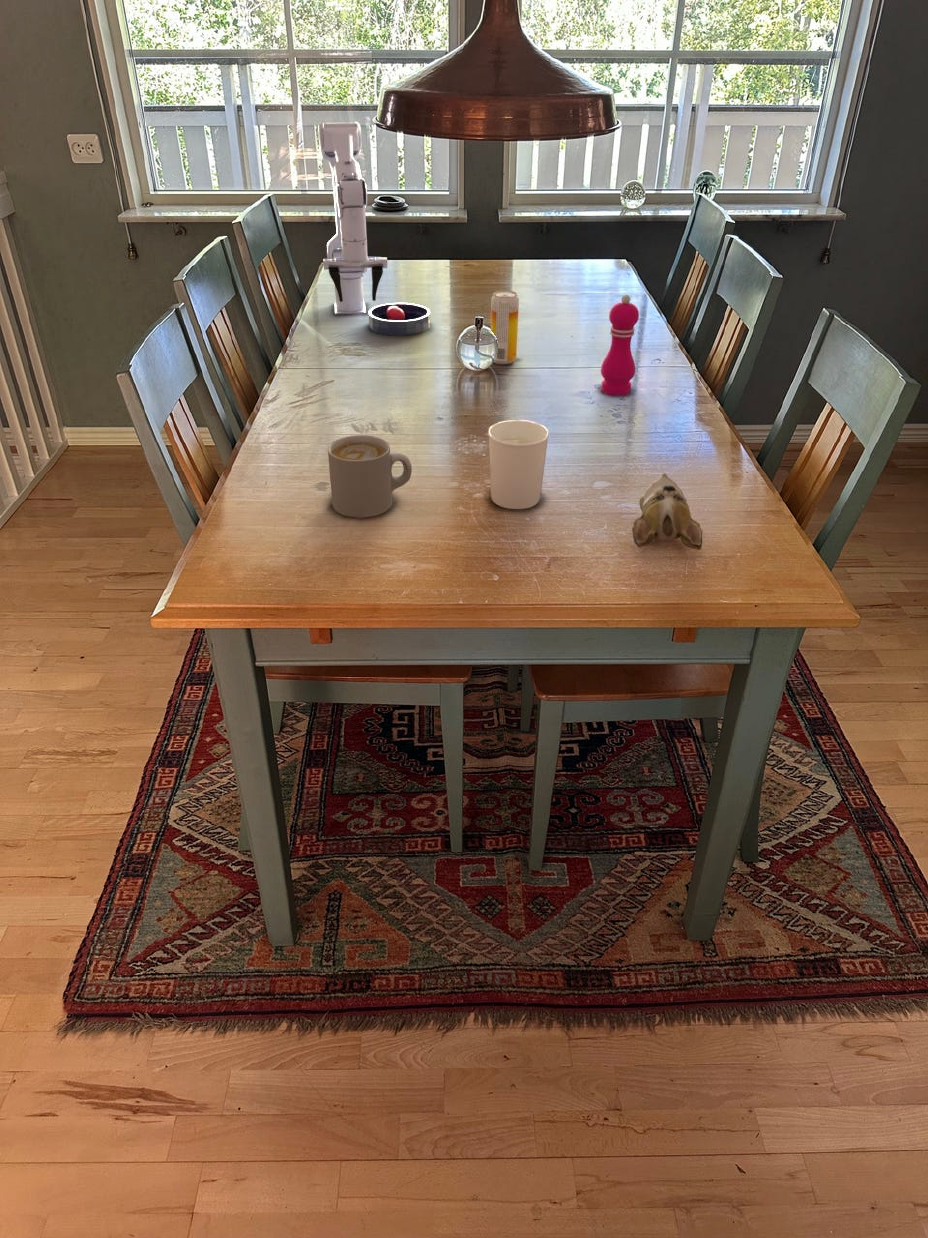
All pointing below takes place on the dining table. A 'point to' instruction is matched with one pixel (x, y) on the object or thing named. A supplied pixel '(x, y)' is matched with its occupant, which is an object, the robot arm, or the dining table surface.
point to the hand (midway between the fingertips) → (357, 299)
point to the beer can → (505, 324)
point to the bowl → (412, 324)
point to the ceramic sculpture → (666, 516)
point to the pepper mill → (620, 349)
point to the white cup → (517, 462)
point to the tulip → (395, 314)
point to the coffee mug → (364, 475)
